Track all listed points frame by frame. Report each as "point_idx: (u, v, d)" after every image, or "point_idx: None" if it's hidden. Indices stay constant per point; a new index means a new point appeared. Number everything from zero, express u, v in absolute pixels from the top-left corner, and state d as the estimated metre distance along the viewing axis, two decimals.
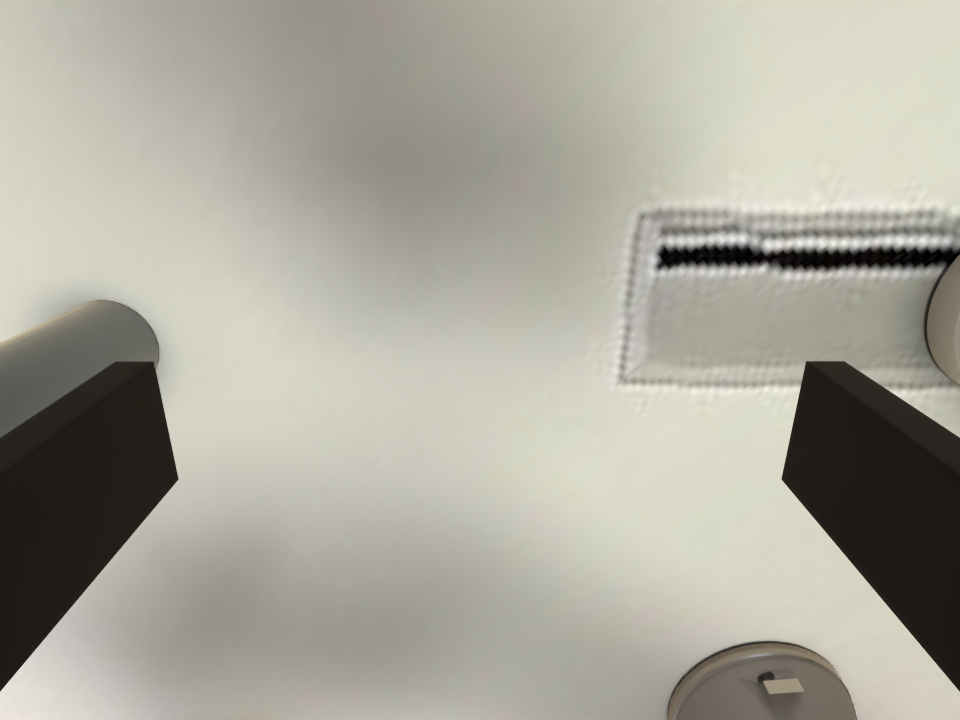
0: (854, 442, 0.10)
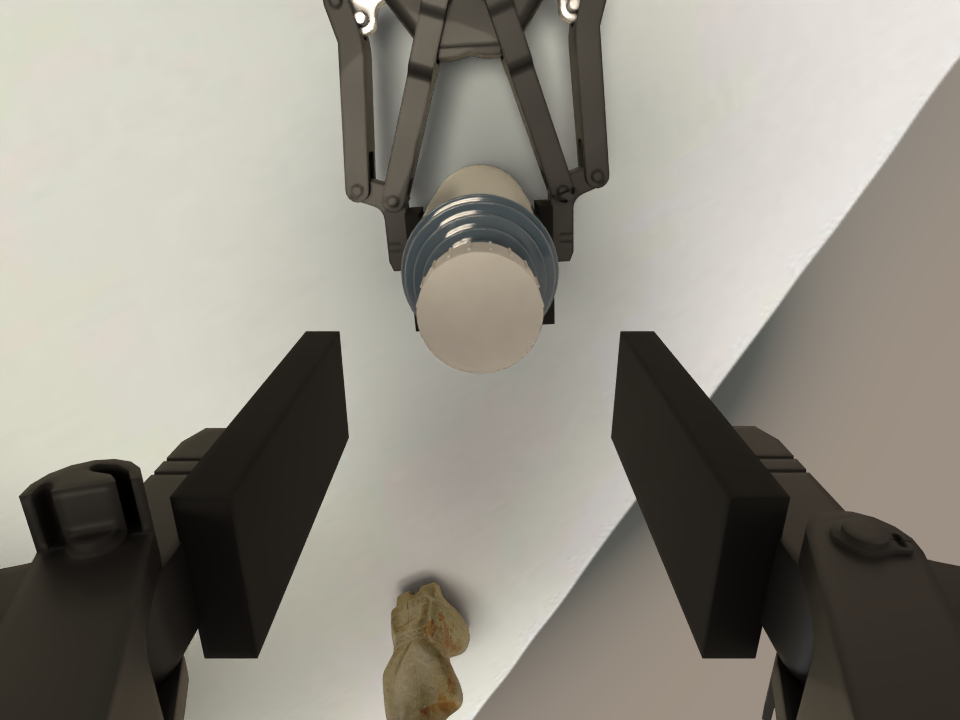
0: (638, 397, 0.12)
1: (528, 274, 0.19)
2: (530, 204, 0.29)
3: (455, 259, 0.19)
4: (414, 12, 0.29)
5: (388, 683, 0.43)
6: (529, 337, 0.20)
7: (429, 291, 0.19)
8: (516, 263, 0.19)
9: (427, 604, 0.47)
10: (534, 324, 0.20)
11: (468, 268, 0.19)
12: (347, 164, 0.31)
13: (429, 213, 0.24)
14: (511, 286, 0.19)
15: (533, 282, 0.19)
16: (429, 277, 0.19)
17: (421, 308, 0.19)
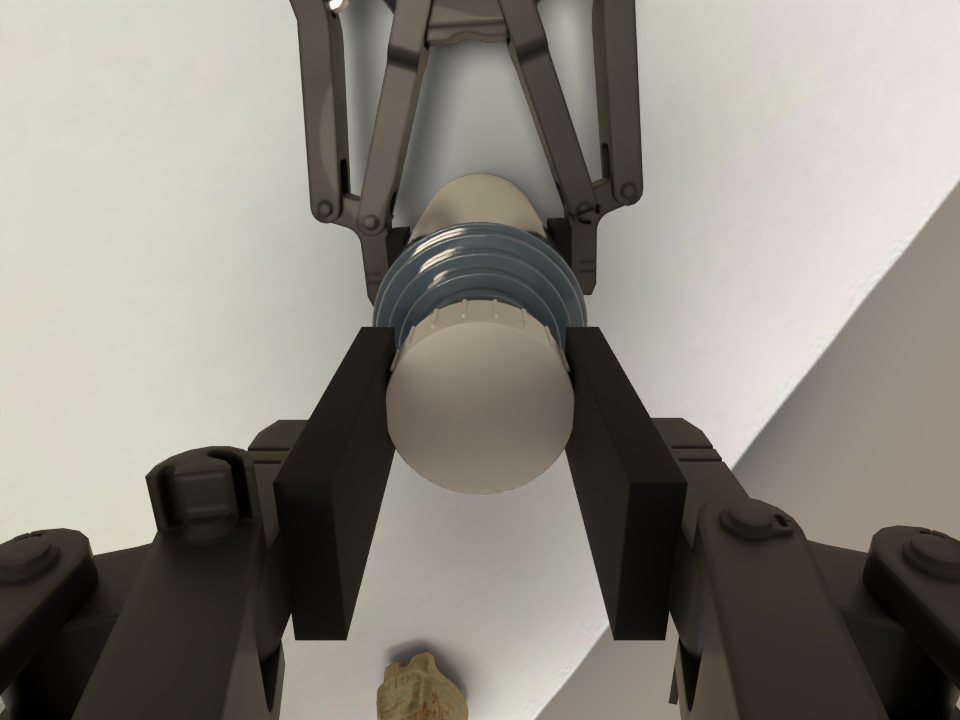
0: (576, 390, 0.13)
1: (554, 355, 0.12)
2: None
3: (442, 333, 0.12)
4: None
5: None
6: (554, 445, 0.13)
7: (403, 379, 0.13)
8: (536, 339, 0.12)
9: (419, 683, 0.40)
10: (562, 426, 0.13)
11: (462, 346, 0.12)
12: (312, 176, 0.25)
13: (410, 249, 0.17)
14: (528, 372, 0.13)
15: (561, 366, 0.13)
16: (403, 359, 0.12)
17: (391, 404, 0.13)
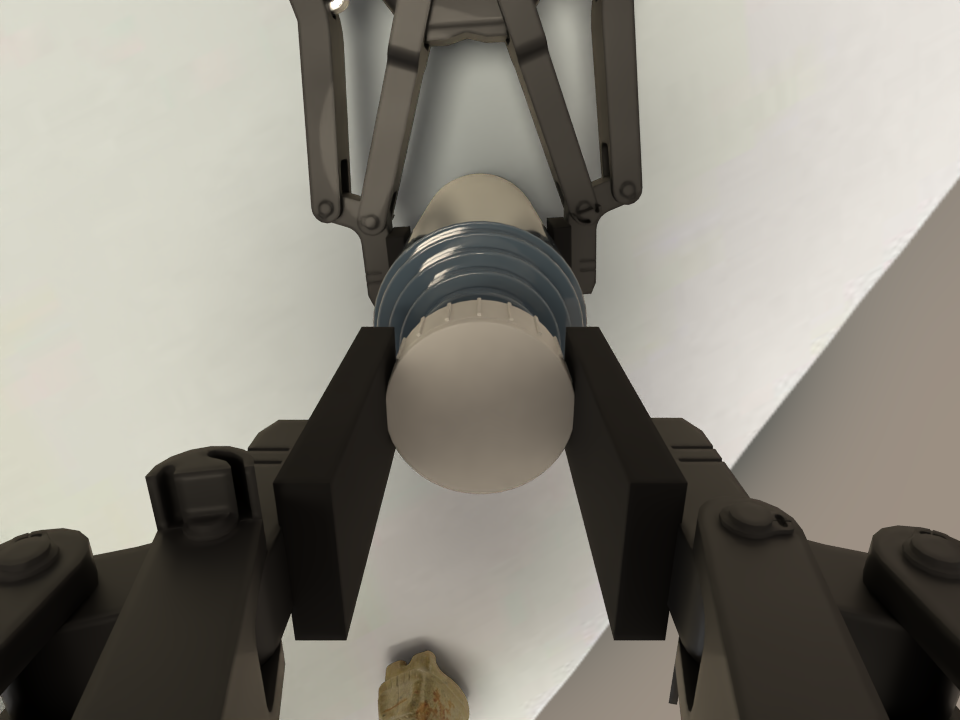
0: (576, 390, 0.13)
1: None
2: (544, 227, 0.23)
3: (458, 488, 0.14)
4: None
5: None
6: (439, 342, 0.12)
7: (515, 477, 0.13)
8: (392, 437, 0.13)
9: (420, 682, 0.40)
10: (421, 355, 0.12)
11: (451, 470, 0.13)
12: (313, 176, 0.25)
13: (410, 248, 0.17)
14: (416, 418, 0.13)
15: (386, 404, 0.13)
16: (502, 490, 0.14)
17: (541, 465, 0.13)
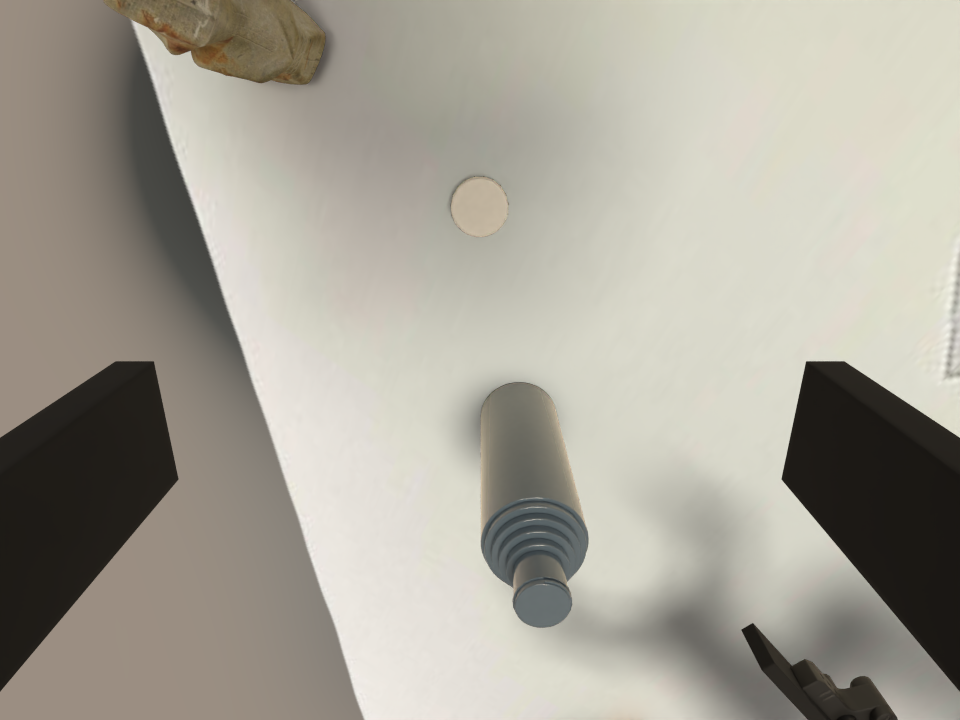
0: (853, 442, 0.11)
1: (502, 224, 0.44)
2: None
3: (501, 191, 0.43)
4: None
5: (277, 2, 0.33)
6: (475, 233, 0.44)
7: (484, 183, 0.43)
8: (506, 217, 0.44)
9: (302, 83, 0.38)
10: (481, 233, 0.44)
11: (498, 197, 0.43)
12: None
13: None
14: (495, 218, 0.44)
15: (499, 227, 0.44)
16: (490, 181, 0.43)
17: (475, 181, 0.43)
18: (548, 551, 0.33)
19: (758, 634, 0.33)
